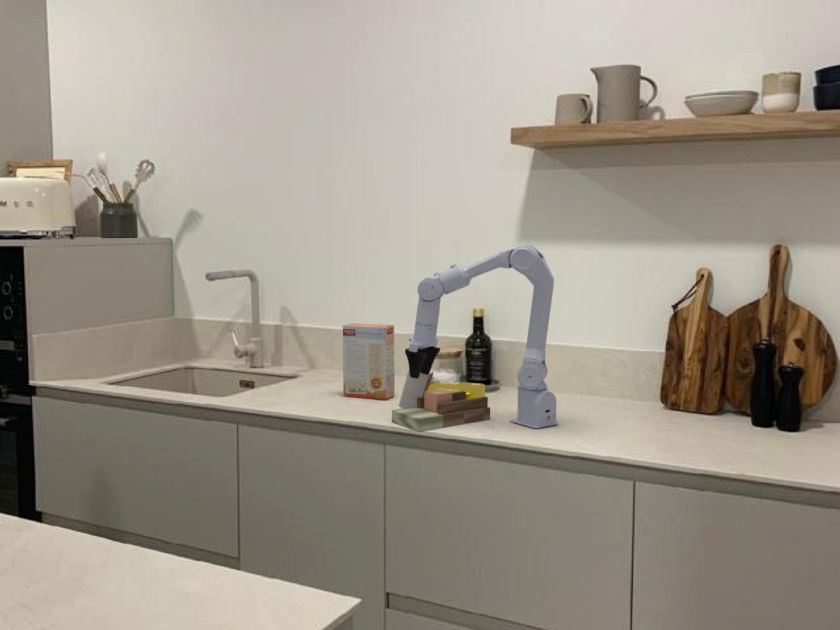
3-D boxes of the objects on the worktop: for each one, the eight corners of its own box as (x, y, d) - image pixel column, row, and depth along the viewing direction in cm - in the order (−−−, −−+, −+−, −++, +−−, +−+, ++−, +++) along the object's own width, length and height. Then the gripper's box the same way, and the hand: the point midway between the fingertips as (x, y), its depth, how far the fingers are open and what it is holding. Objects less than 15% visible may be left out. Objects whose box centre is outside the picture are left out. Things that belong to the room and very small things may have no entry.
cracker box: (395, 396, 240) (395, 324, 238) (385, 400, 235) (385, 327, 233) (353, 392, 246) (352, 322, 244) (342, 396, 241) (342, 324, 239)
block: (452, 409, 209) (452, 392, 209) (436, 412, 206) (436, 394, 206) (440, 406, 213) (440, 389, 213) (424, 408, 210) (424, 391, 210)
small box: (417, 413, 219) (428, 375, 217) (397, 406, 220) (408, 369, 218) (423, 407, 227) (434, 370, 225) (404, 400, 228) (414, 364, 226)
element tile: (419, 404, 231) (419, 387, 231) (437, 394, 245) (437, 378, 245) (471, 409, 226) (471, 391, 226) (486, 398, 240) (487, 382, 240)
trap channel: (490, 419, 212) (490, 397, 212) (419, 431, 200) (419, 408, 199) (460, 410, 222) (461, 390, 221) (391, 421, 209) (391, 400, 209)
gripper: (422, 318, 221) (416, 368, 223) (400, 323, 208) (394, 376, 210) (447, 323, 219) (440, 373, 220) (426, 328, 205) (419, 382, 207)
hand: (419, 375), depth 215 cm, fingers open, 6 cm apart
